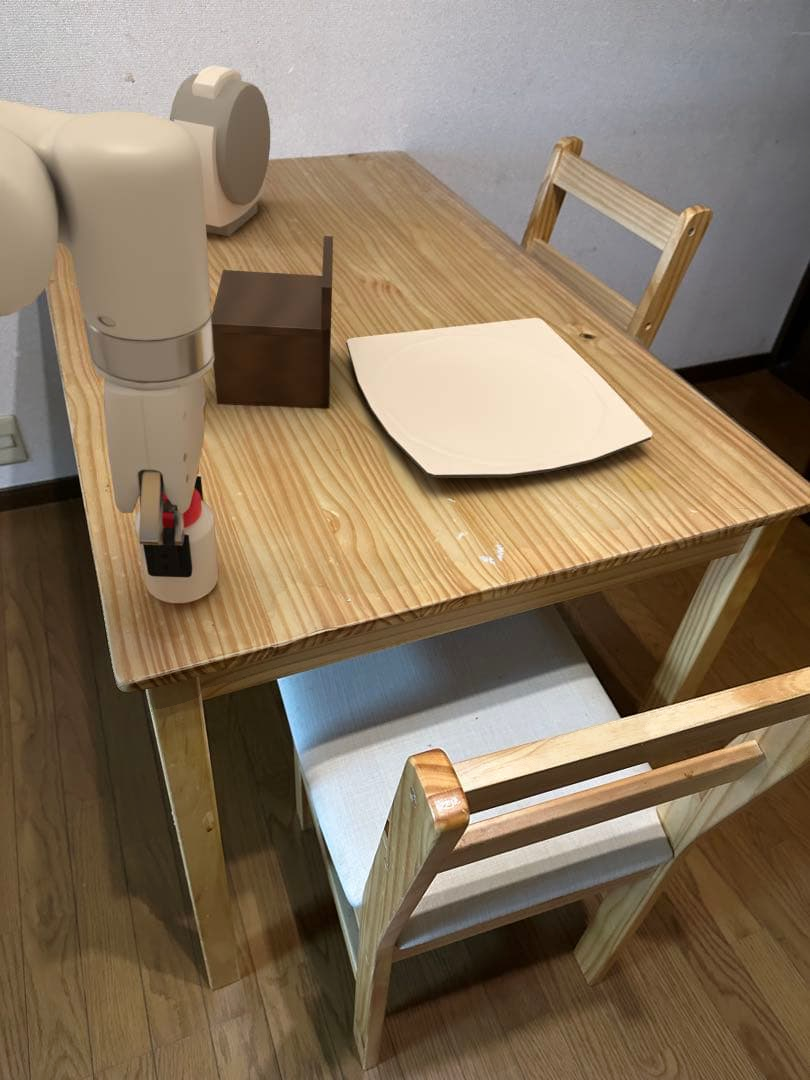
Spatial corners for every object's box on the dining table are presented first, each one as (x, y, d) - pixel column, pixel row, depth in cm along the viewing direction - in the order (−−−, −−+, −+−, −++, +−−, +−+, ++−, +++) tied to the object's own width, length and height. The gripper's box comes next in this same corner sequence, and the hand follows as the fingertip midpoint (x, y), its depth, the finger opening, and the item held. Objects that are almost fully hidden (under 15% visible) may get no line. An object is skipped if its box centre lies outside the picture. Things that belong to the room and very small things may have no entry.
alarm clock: (227, 195, 124) (217, 51, 110) (276, 205, 123) (273, 61, 109) (174, 236, 111) (155, 79, 97) (228, 248, 110) (217, 90, 96)
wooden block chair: (217, 403, 82) (205, 279, 73) (228, 346, 91) (219, 228, 81) (329, 408, 83) (332, 287, 74) (330, 351, 92) (333, 236, 82)
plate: (330, 354, 92) (331, 334, 90) (539, 330, 101) (543, 311, 99) (418, 507, 73) (421, 486, 71) (664, 461, 82) (672, 441, 80)
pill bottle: (226, 593, 62) (221, 517, 56) (152, 611, 60) (138, 533, 54) (209, 545, 66) (202, 469, 60) (138, 560, 64) (124, 482, 58)
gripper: (118, 272, 54) (148, 472, 66) (51, 412, 41) (103, 626, 54) (227, 281, 55) (236, 477, 67) (193, 420, 42) (213, 629, 55)
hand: (177, 542), depth 60 cm, fingers closed on pill bottle, 5 cm apart
